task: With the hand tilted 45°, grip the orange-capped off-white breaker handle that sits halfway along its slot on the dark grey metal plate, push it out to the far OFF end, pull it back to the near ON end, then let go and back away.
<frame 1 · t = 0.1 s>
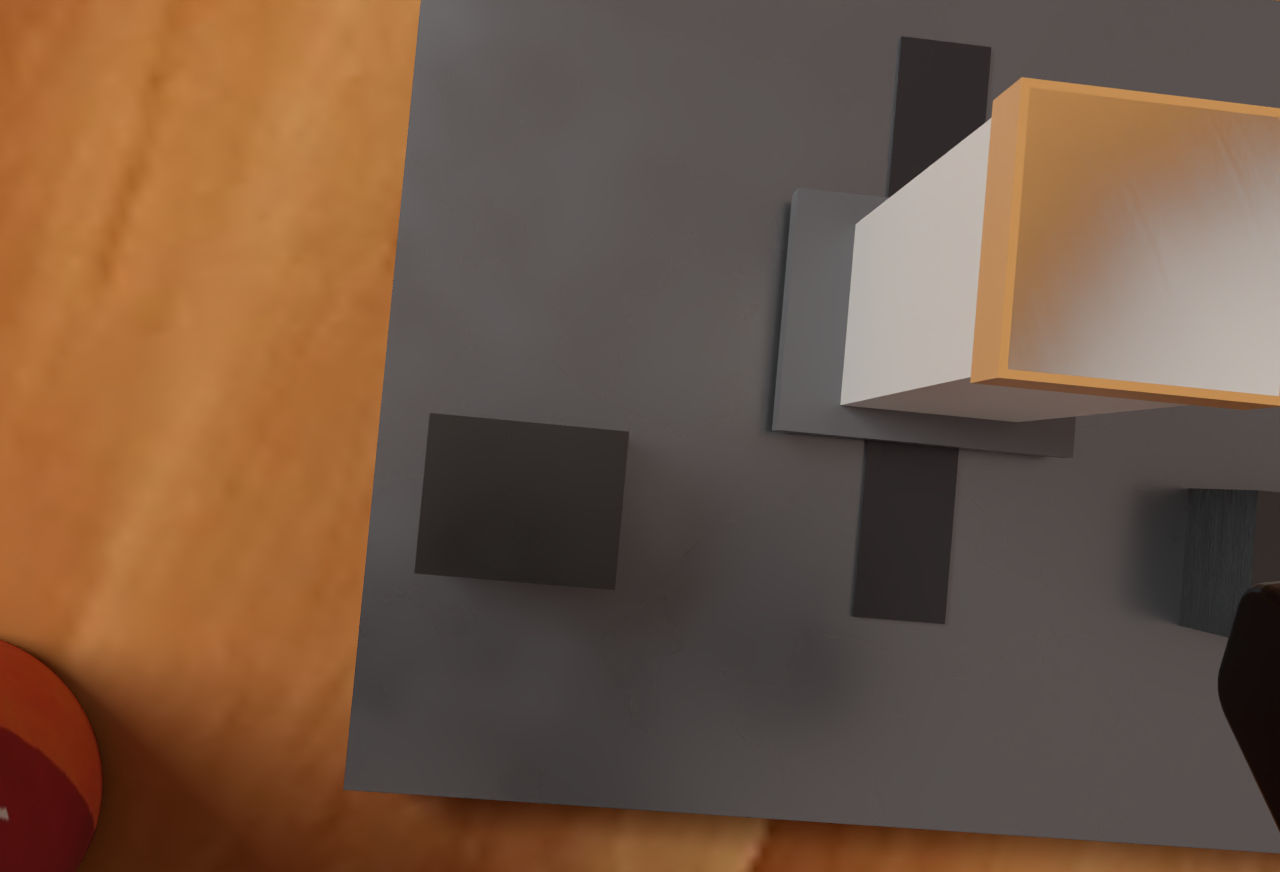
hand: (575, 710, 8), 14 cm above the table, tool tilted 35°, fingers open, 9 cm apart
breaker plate: (887, 341, 22), on the table
breaker handle: (1014, 294, 16), point 6 cm above the table, slide at 0.0 cm
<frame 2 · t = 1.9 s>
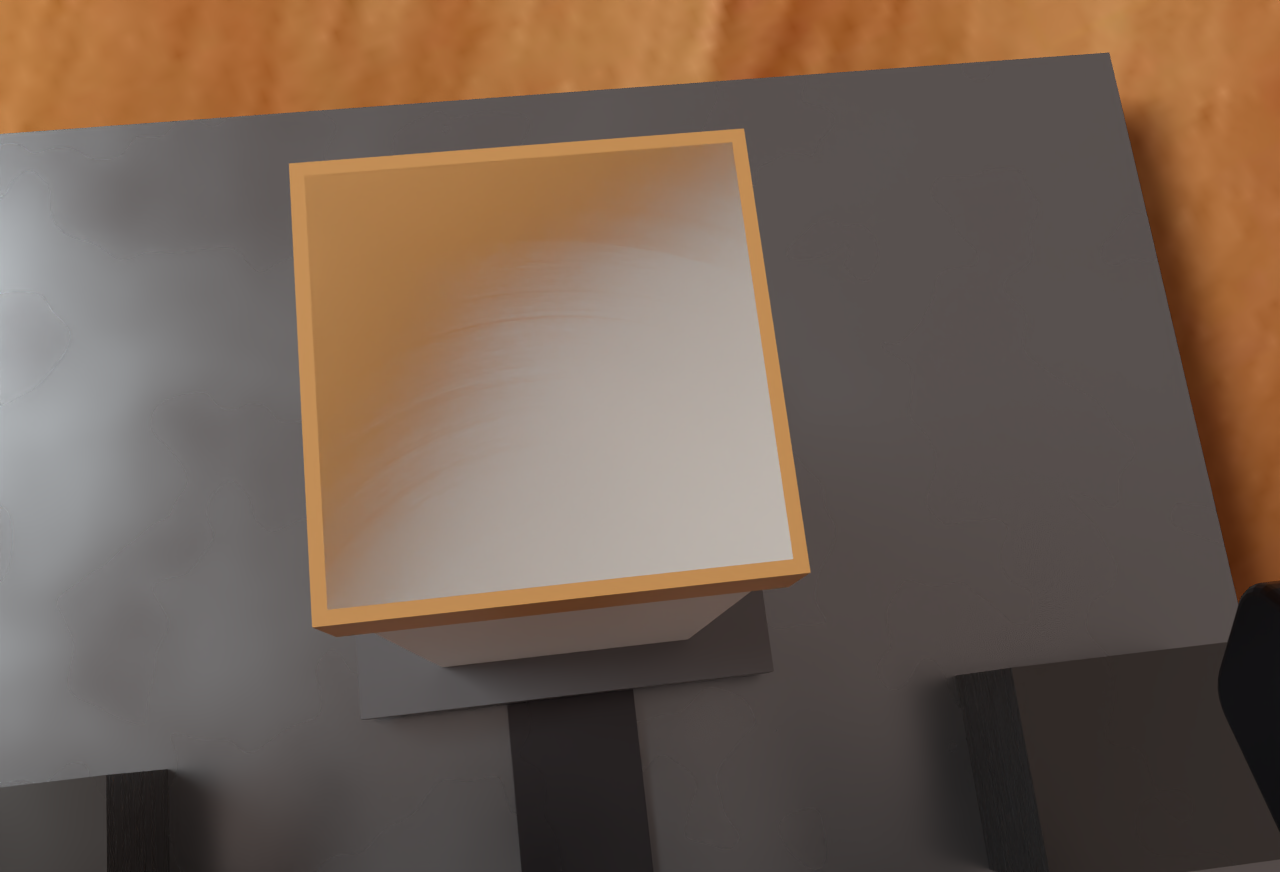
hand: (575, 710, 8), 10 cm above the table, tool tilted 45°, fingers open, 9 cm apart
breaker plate: (556, 562, 17), on the table
breaker handle: (550, 477, 12), point 6 cm above the table, slide at 0.0 cm
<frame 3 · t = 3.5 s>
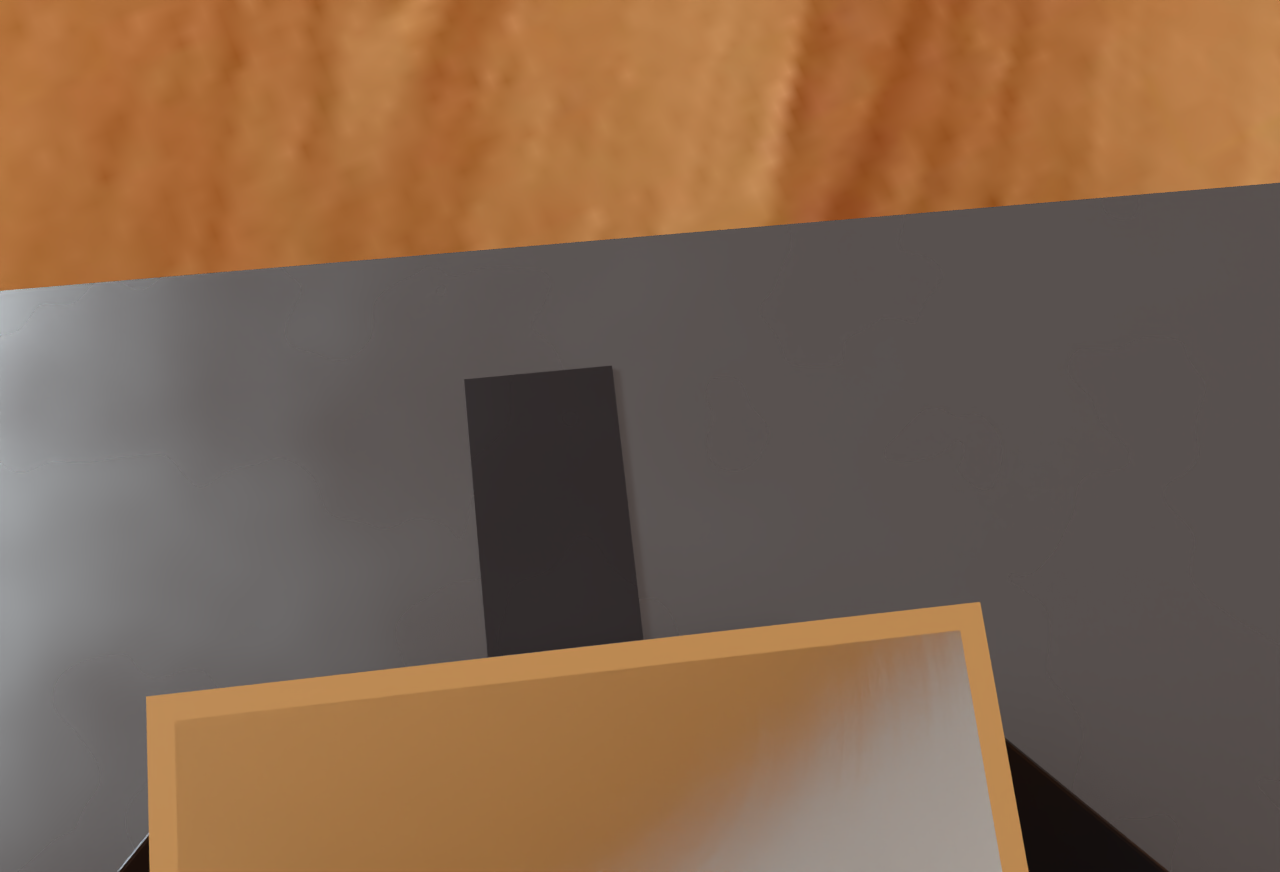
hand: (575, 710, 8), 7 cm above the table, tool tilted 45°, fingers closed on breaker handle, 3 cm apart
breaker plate: (584, 836, 14), on the table
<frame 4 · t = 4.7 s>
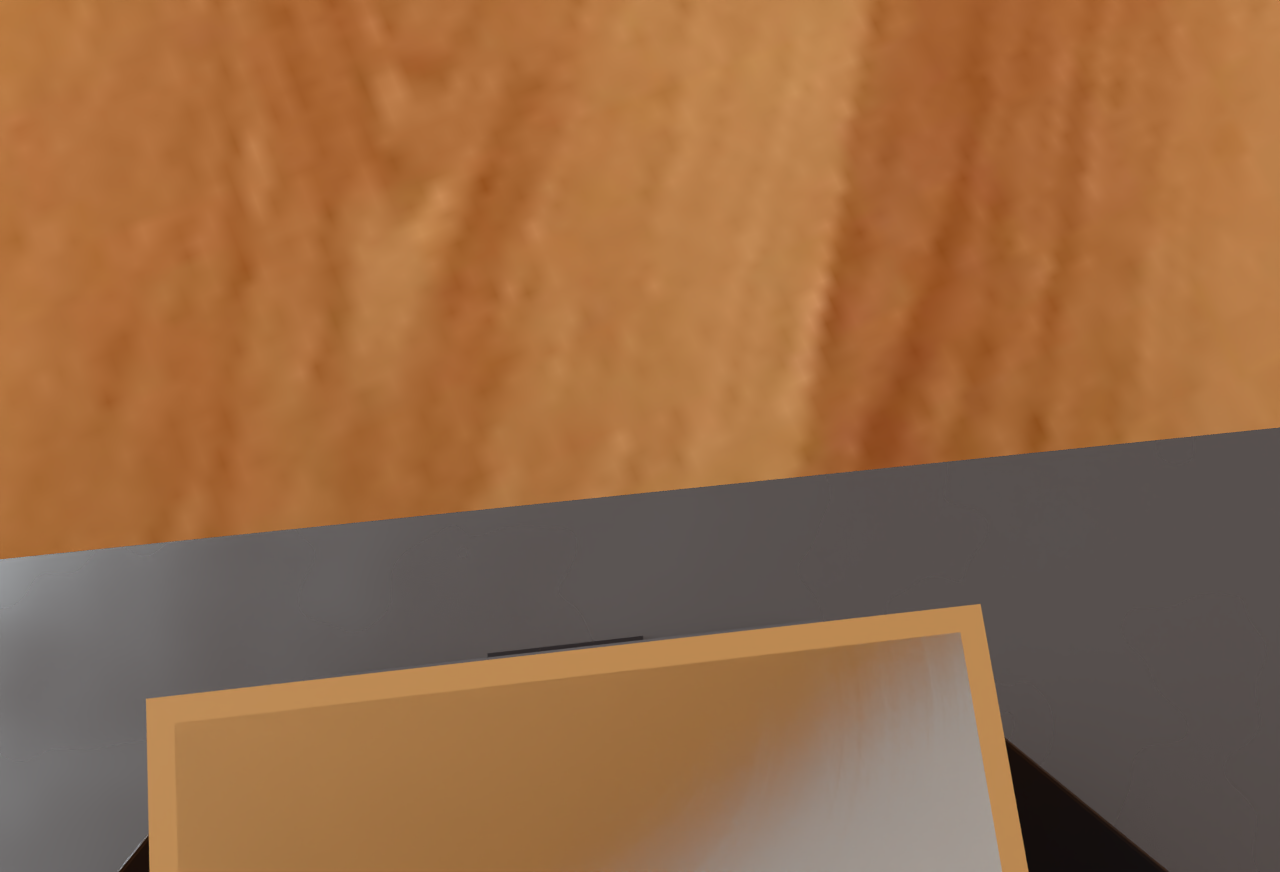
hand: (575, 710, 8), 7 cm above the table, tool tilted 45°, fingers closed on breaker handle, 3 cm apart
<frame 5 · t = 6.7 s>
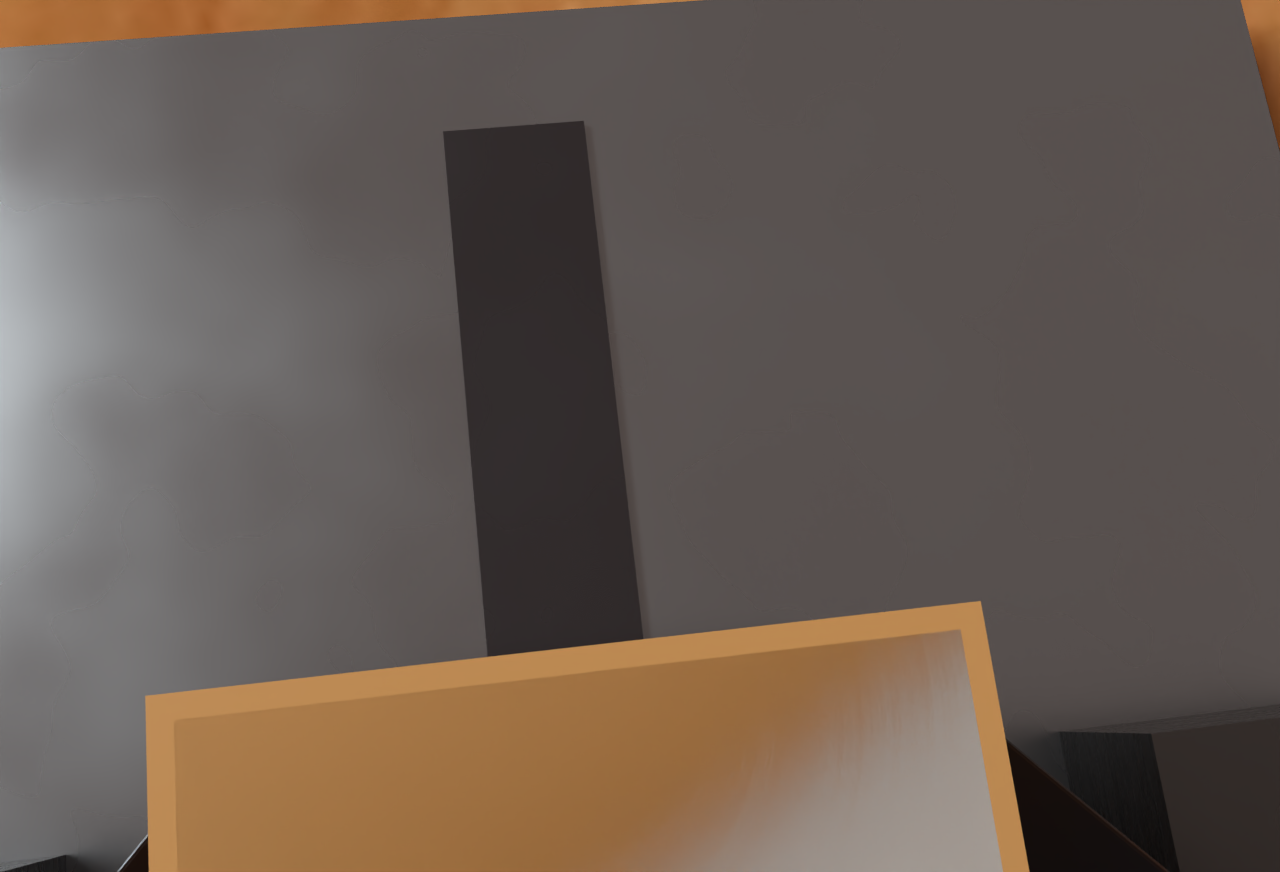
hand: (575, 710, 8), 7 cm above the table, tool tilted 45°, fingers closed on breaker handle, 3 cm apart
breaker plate: (558, 584, 14), on the table
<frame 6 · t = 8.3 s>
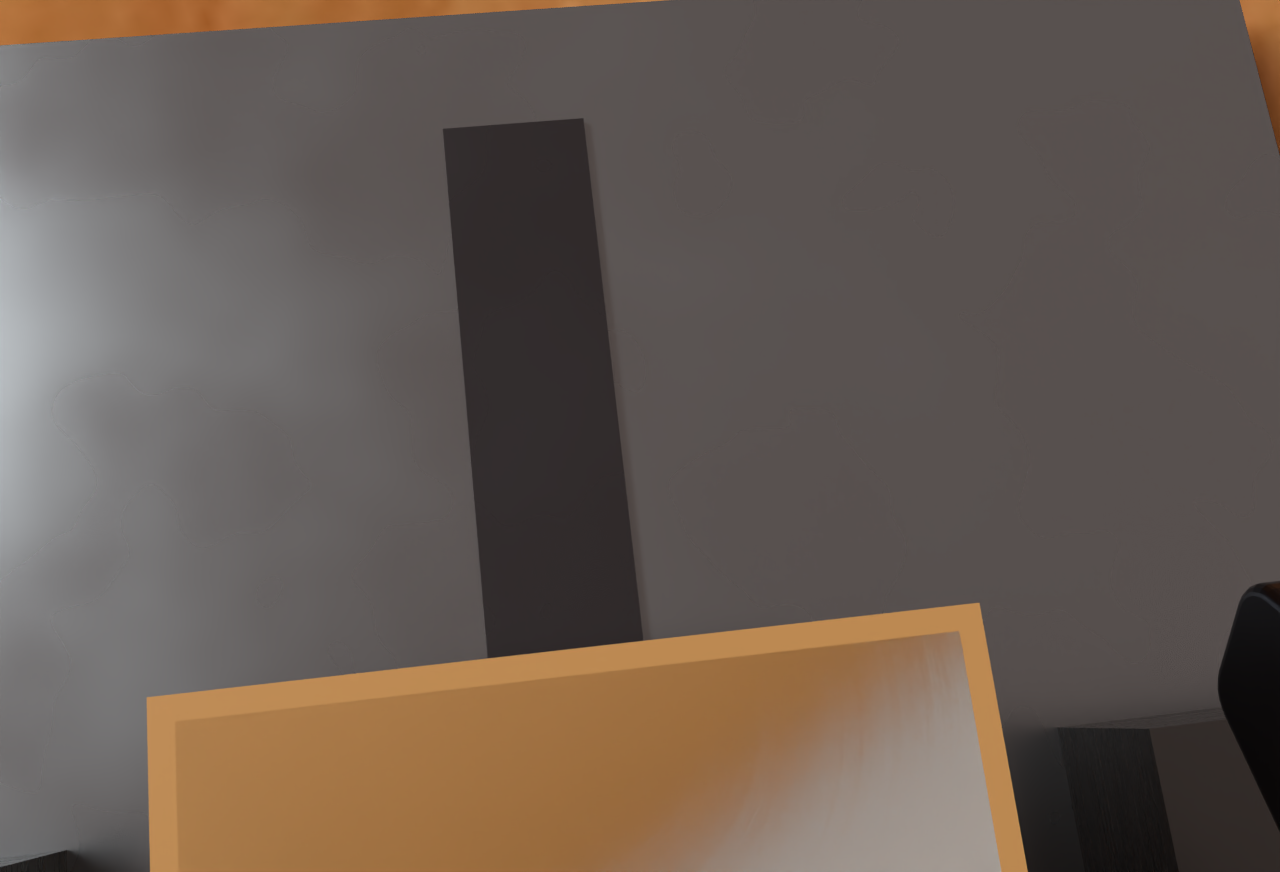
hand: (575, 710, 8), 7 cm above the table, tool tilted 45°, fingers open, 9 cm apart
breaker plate: (558, 581, 14), on the table
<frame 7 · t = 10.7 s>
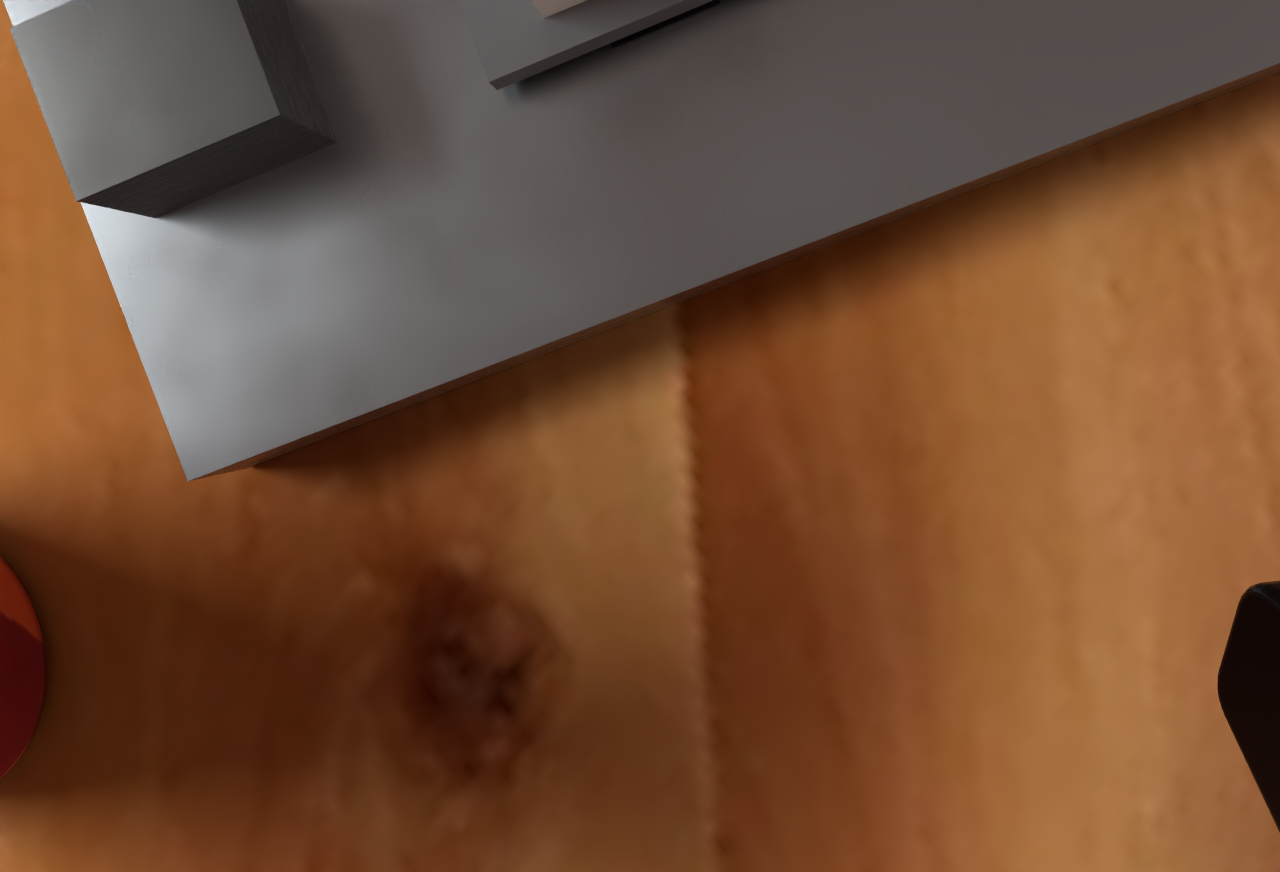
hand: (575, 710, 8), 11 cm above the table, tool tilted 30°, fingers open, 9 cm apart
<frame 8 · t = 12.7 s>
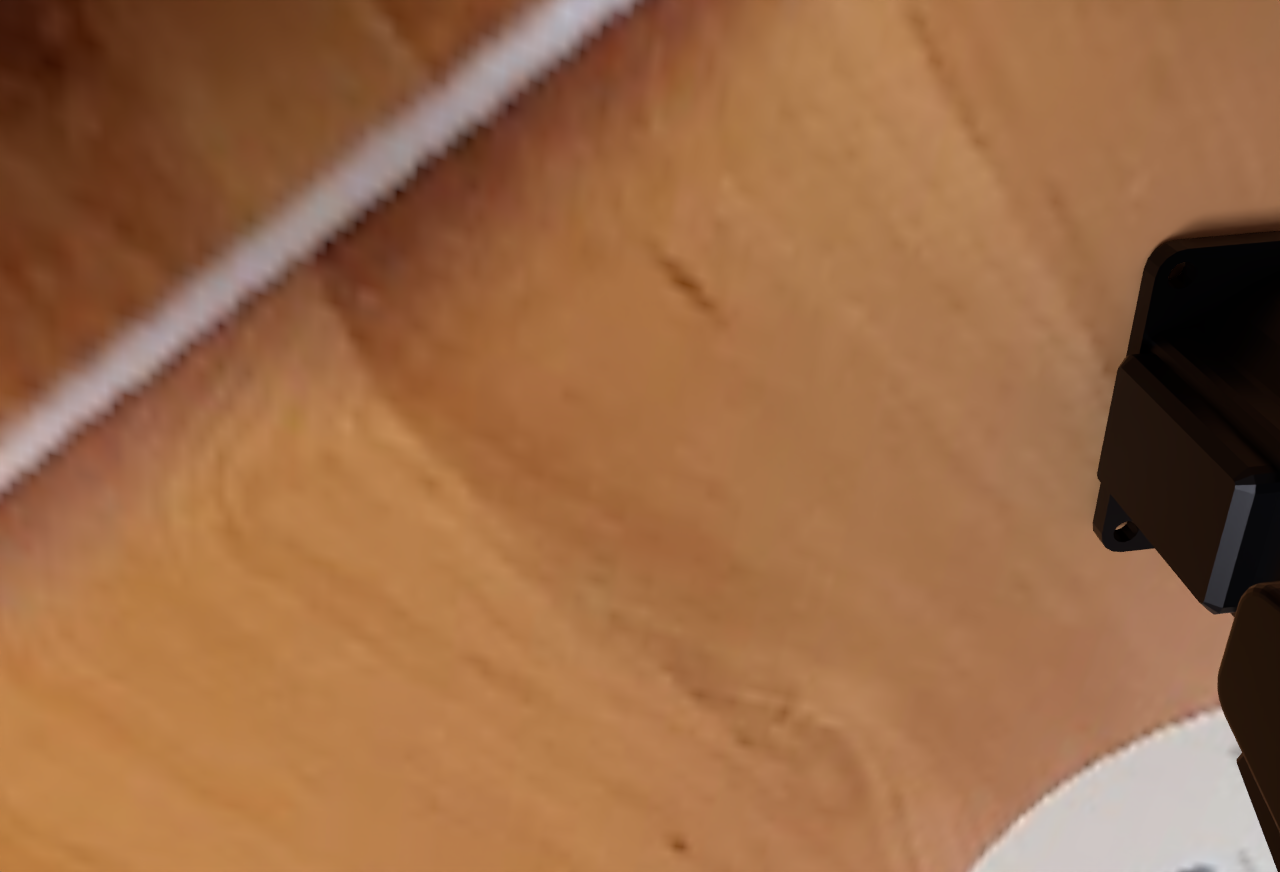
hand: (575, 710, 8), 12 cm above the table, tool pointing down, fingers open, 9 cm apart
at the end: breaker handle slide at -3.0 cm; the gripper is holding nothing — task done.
